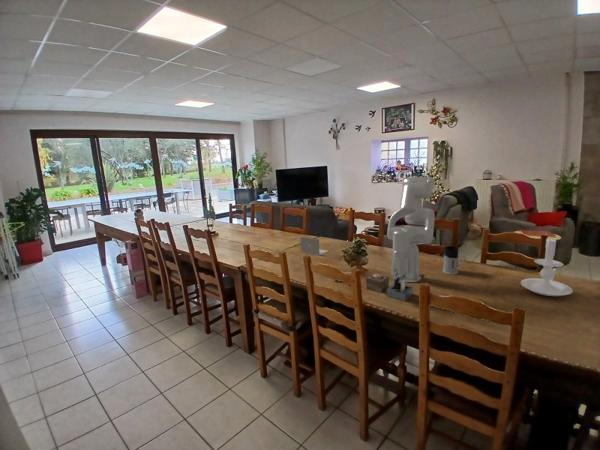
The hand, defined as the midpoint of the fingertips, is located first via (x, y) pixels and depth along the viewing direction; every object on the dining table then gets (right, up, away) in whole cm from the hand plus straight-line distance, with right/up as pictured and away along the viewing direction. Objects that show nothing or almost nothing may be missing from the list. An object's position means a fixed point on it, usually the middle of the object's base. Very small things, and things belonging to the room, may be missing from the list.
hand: (400, 287), depth 162 cm
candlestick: (+73, -1, -3) cm, 73 cm away
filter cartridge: (0, -4, +1) cm, 5 cm away
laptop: (-40, +11, +83) cm, 93 cm away
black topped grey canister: (+41, +3, +26) cm, 48 cm away
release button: (-9, -1, +11) cm, 14 cm away
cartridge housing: (0, -4, +1) cm, 4 cm away
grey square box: (-9, -2, +12) cm, 15 cm away
